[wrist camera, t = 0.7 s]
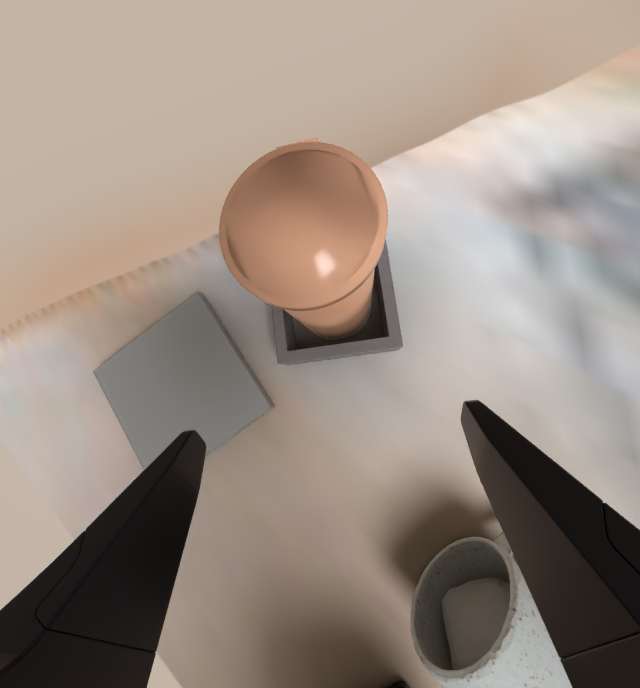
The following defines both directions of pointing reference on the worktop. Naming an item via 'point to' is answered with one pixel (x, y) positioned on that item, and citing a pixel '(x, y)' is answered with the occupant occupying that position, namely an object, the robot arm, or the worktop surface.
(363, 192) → the peach rounded cylinder
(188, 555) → the worktop surface
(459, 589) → the ceramic mug
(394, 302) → the holder
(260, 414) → the mat
